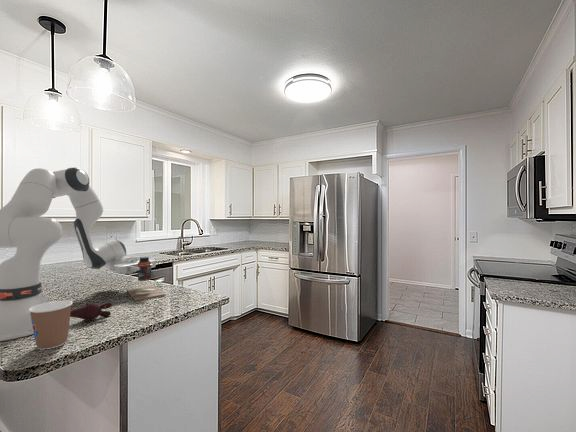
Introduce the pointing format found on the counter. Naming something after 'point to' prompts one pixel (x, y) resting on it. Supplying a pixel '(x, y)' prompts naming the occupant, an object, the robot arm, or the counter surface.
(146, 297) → the board
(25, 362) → the counter surface
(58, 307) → the coffee cup
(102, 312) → the dark red toy figure
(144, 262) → the supplement bottle
